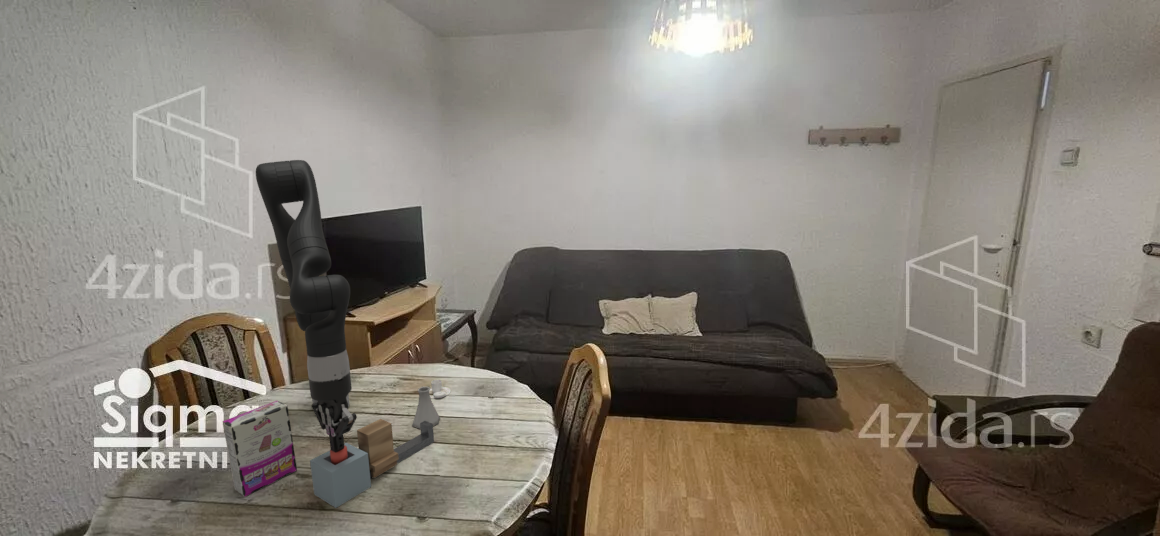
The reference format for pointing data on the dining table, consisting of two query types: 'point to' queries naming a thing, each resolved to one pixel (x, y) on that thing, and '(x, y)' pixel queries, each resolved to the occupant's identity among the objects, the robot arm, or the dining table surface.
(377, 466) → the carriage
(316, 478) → the button housing
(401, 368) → the dining table surface
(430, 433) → the rail
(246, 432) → the candy bar box
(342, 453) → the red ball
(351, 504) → the dining table surface
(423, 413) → the flask
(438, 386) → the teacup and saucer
